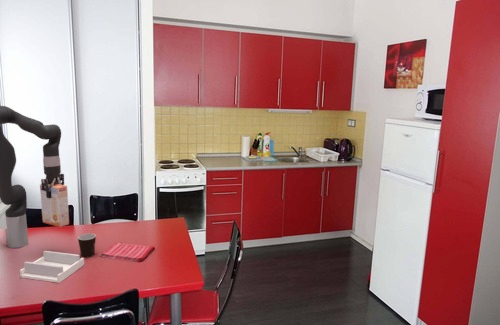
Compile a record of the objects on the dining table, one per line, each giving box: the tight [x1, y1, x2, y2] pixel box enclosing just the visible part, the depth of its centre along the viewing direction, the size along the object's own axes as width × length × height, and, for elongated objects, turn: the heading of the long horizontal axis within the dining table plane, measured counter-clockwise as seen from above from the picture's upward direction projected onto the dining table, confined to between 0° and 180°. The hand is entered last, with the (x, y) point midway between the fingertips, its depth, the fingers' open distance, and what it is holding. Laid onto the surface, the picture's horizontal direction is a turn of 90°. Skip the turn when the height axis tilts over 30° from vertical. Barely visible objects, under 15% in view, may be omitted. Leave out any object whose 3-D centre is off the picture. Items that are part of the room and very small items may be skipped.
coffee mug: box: [77, 233, 97, 258], centre depth 194 cm, size 12×9×10 cm
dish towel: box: [99, 242, 156, 263], centre depth 197 cm, size 17×24×3 cm
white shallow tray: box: [19, 250, 85, 284], centre depth 175 cm, size 20×18×6 cm
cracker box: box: [39, 183, 70, 228], centre depth 190 cm, size 14×6×21 cm, turn 62°
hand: (54, 196), depth 189 cm, fingers closed on cracker box, 7 cm apart
